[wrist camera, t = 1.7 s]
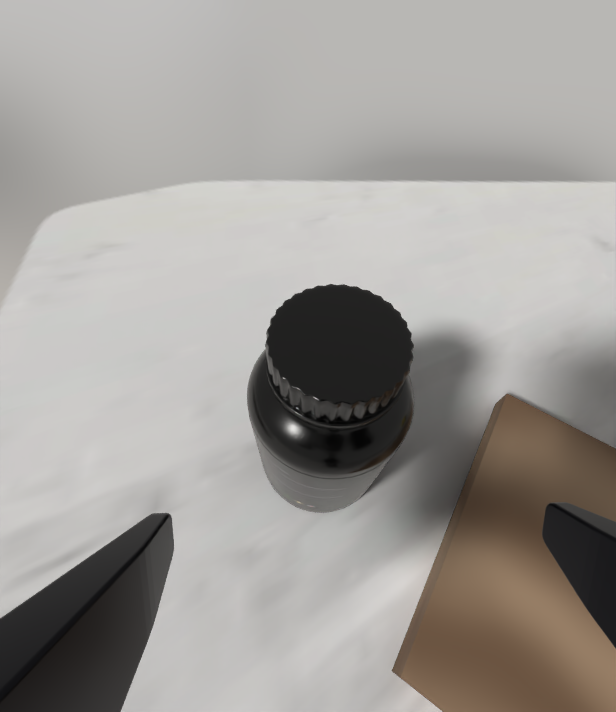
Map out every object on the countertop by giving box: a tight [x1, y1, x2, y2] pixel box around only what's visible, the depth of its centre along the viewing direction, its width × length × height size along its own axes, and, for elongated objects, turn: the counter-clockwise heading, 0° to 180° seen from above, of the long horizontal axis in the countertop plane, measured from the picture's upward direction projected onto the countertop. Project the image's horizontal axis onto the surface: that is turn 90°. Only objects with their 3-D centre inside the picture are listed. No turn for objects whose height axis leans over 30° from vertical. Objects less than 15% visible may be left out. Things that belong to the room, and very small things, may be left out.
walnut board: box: [392, 394, 616, 712], centre depth 17 cm, size 16×14×2 cm
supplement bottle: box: [247, 284, 414, 513], centre depth 16 cm, size 7×7×12 cm
